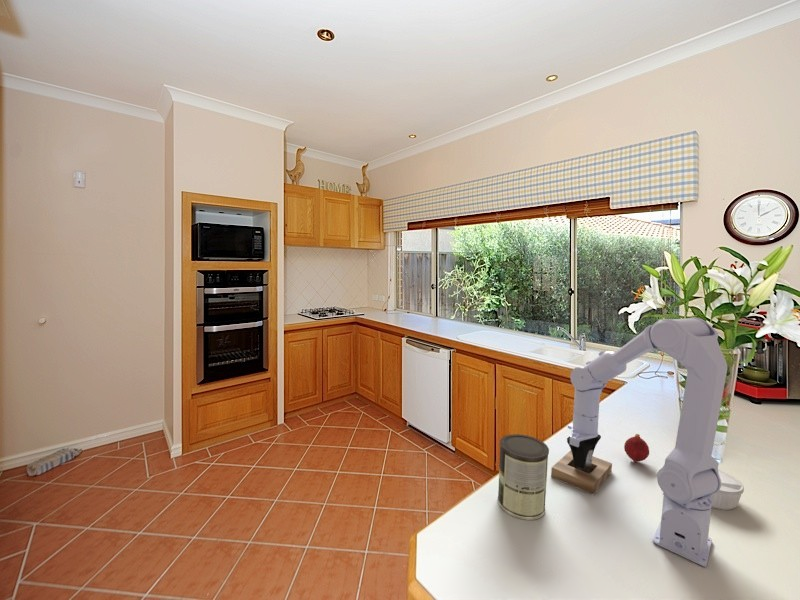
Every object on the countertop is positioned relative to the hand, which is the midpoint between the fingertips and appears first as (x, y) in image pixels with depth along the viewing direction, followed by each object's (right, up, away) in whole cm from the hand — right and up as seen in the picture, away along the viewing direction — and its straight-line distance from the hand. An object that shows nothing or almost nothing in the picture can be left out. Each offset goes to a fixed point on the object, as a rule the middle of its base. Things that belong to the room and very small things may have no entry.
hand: (582, 463), depth 91 cm
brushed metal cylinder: (0, -2, 0) cm, 2 cm away
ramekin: (+26, -5, -8) cm, 27 cm away
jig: (0, -3, 0) cm, 3 cm away
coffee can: (-20, -4, -12) cm, 24 cm away
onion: (+19, -3, +7) cm, 20 cm away
